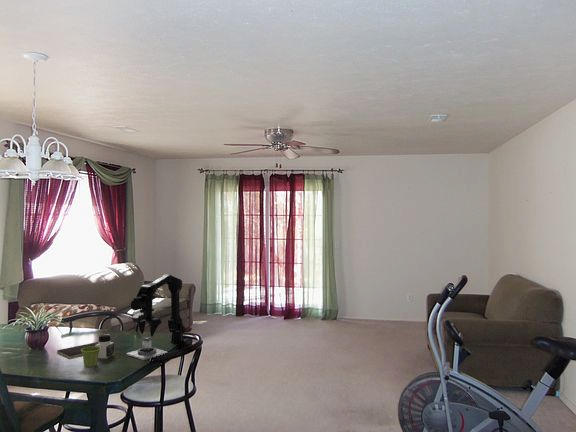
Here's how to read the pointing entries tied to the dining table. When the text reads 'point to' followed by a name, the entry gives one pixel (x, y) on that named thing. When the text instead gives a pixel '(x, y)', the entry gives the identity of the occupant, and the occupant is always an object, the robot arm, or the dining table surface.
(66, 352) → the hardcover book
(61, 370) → the dining table surface
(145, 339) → the duct coupling
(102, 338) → the medicine bottle
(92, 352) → the plant pot
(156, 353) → the plate
